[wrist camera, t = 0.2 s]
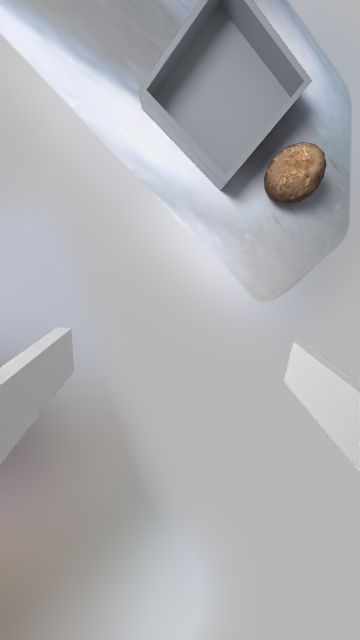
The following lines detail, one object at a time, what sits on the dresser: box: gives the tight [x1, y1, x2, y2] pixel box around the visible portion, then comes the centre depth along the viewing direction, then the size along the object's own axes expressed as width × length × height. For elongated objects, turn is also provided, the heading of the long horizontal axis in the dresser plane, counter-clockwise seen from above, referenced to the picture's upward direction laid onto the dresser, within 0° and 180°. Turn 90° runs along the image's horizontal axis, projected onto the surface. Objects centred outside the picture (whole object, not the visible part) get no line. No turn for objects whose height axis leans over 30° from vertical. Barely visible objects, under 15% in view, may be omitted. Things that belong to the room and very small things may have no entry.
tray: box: [138, 0, 312, 190], centre depth 31 cm, size 15×15×4 cm
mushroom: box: [264, 142, 326, 203], centre depth 34 cm, size 8×8×6 cm
